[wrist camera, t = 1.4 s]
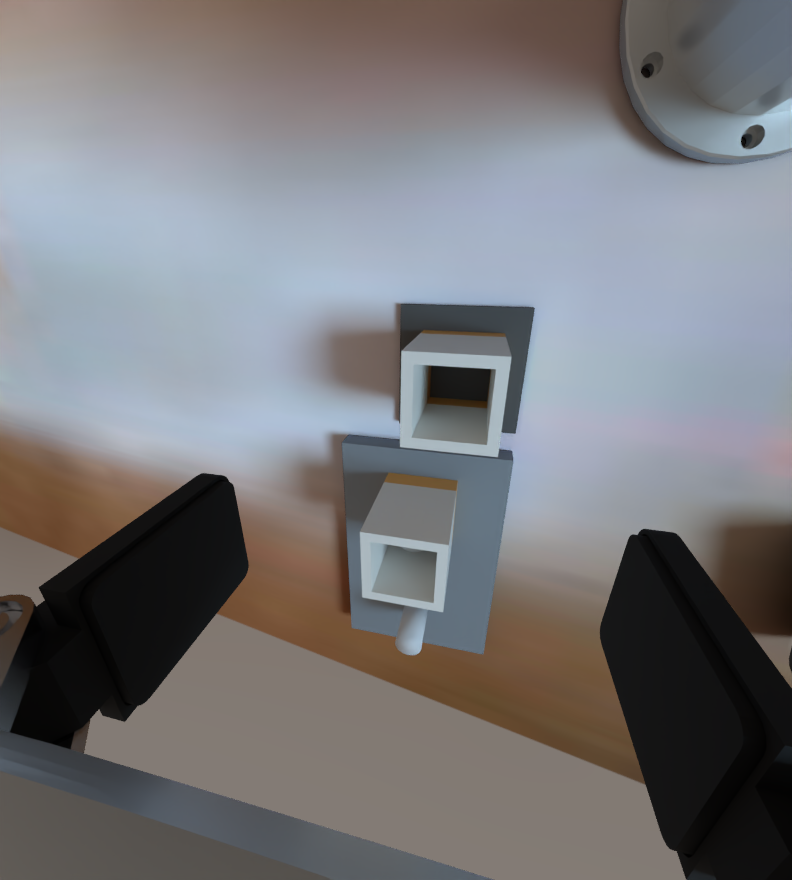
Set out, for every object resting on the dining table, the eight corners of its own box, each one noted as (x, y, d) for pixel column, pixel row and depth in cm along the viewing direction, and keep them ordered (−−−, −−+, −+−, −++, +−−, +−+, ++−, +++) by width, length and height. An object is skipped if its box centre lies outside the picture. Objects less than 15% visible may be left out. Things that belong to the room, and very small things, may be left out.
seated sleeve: (388, 472, 27) (359, 531, 21) (457, 480, 26) (448, 545, 20) (388, 528, 29) (362, 597, 23) (452, 537, 29) (443, 612, 22)
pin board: (348, 434, 29) (320, 468, 24) (511, 451, 26) (517, 492, 21) (356, 614, 36) (336, 668, 32) (483, 639, 34) (482, 701, 29)
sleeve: (423, 330, 24) (401, 350, 18) (504, 333, 23) (511, 356, 17) (420, 404, 26) (399, 447, 20) (495, 410, 25) (497, 457, 19)
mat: (402, 303, 24) (400, 304, 24) (533, 307, 22) (534, 308, 22) (400, 421, 27) (399, 423, 27) (515, 431, 26) (515, 433, 25)
